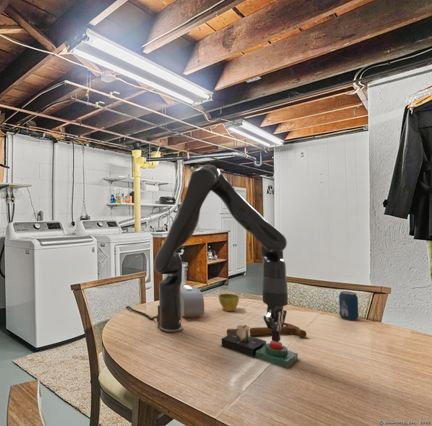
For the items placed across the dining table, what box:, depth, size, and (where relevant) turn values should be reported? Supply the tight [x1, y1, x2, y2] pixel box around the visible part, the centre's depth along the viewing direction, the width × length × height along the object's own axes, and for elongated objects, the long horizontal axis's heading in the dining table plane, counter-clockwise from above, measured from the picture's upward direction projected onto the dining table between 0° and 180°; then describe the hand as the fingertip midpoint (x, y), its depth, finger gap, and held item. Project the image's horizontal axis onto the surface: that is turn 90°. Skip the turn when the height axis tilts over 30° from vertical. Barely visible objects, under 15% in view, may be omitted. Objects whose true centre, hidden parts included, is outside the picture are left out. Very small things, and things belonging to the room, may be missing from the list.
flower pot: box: [217, 293, 240, 312], centre depth 157 cm, size 10×10×7 cm
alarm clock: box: [180, 284, 205, 318], centre depth 153 cm, size 21×10×13 cm, turn 179°
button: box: [269, 340, 283, 350], centre depth 103 cm, size 4×4×2 cm
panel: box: [221, 332, 267, 358], centre depth 112 cm, size 12×10×3 cm
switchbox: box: [255, 342, 299, 369], centre depth 103 cm, size 10×9×4 cm
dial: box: [236, 324, 251, 342], centre depth 112 cm, size 4×4×5 cm
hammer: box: [226, 322, 307, 339], centre depth 125 cm, size 12×3×30 cm
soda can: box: [338, 290, 359, 322], centre depth 141 cm, size 7×7×12 cm
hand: (276, 340), depth 103 cm, fingers closed
